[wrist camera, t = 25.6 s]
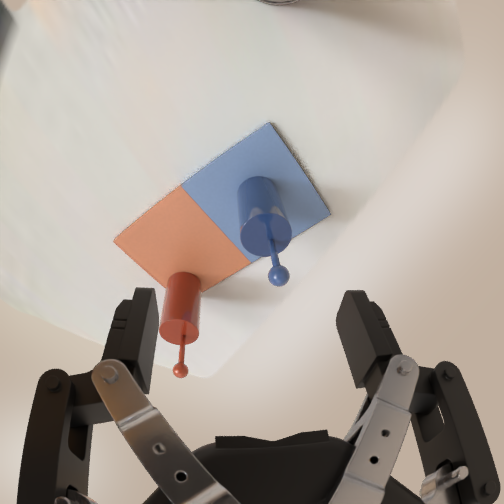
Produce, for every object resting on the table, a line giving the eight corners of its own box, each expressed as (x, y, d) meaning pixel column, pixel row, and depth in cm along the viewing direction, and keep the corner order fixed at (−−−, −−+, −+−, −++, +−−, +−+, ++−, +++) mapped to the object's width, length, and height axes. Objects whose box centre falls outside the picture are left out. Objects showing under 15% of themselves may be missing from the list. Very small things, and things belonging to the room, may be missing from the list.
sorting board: (114, 238, 45) (113, 241, 45) (269, 122, 37) (270, 123, 37) (183, 300, 54) (183, 303, 53) (329, 211, 46) (331, 214, 45)
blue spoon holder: (228, 192, 42) (230, 274, 28) (262, 167, 40) (283, 240, 27) (253, 220, 45) (267, 308, 31) (286, 198, 43) (316, 279, 29)
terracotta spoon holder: (160, 282, 50) (143, 370, 36) (185, 265, 48) (174, 355, 35) (183, 302, 53) (175, 389, 39) (208, 287, 51) (206, 376, 38)
